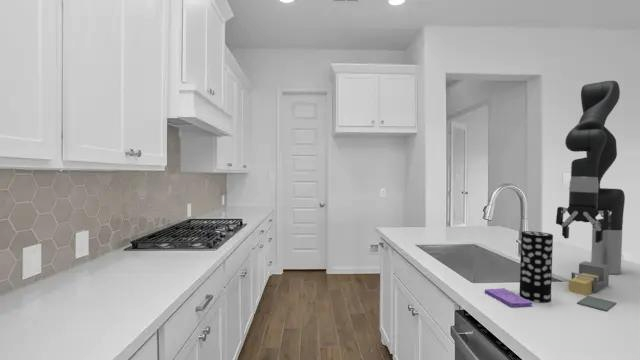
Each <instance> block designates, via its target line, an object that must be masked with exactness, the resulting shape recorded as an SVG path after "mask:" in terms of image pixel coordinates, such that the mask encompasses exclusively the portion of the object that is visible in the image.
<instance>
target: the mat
mask: <svg viewBox="0 0 640 360" xmlns="http://www.w3.org/2000/svg"><path fill="white" fill-rule="evenodd" d="M576 304H577V305H581V306H583V307H589V308H592V309H596V310H599V311H603V312H608V311H609V310H610V309H612V308H614V306H616V305H617V301H611V300H608V299H604V298H599V297H596V296H592V295H585V297H583V298H581V299H580V300H579V301H577V302H576Z"/></svg>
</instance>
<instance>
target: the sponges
mask: <svg viewBox="0 0 640 360" xmlns="http://www.w3.org/2000/svg"><path fill="white" fill-rule="evenodd" d="M484 293H485V294H487V295H488V296H490V297H491V298H494V299H495V300H497V301H499V302H500V303H502V304H503V305H505V306H507V307H509V308H530V307H533V302H534V301H529V300H527V299H524V298H522V297H520V295H518V294H517V293H514V292H513V291H510V290H508V289H507V288H505V287H504V288H493V289H492V288H491V289H490V288H489V289H487V288H486V289H485V288H484Z"/></svg>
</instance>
